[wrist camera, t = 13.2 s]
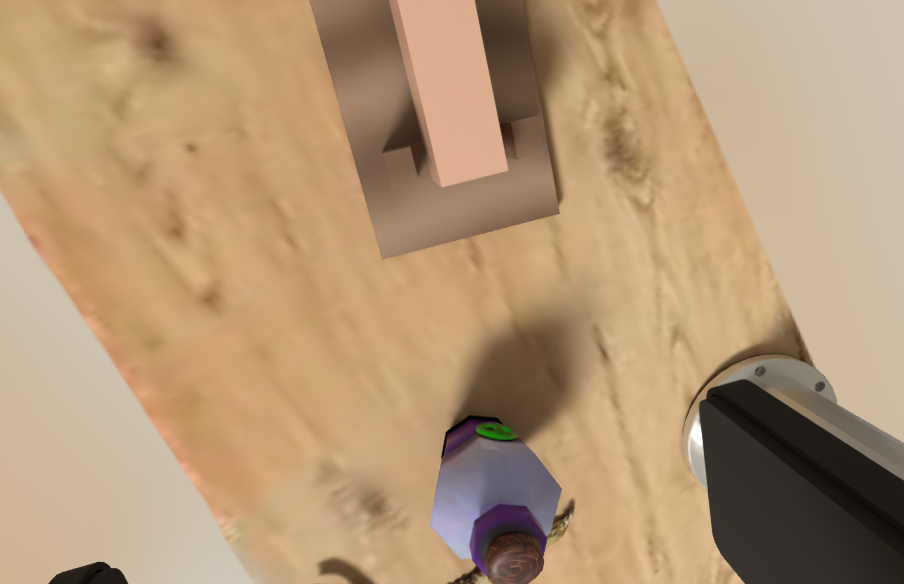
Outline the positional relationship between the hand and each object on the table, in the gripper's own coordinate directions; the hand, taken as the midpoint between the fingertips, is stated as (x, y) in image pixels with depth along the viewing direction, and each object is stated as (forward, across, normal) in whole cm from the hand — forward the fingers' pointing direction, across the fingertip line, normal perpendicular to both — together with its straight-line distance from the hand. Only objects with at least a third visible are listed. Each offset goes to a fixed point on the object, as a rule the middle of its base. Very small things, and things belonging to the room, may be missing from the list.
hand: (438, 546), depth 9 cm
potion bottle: (+28, -2, +17) cm, 33 cm away
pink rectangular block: (+25, -5, -11) cm, 28 cm away
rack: (+28, -5, -11) cm, 31 cm away
